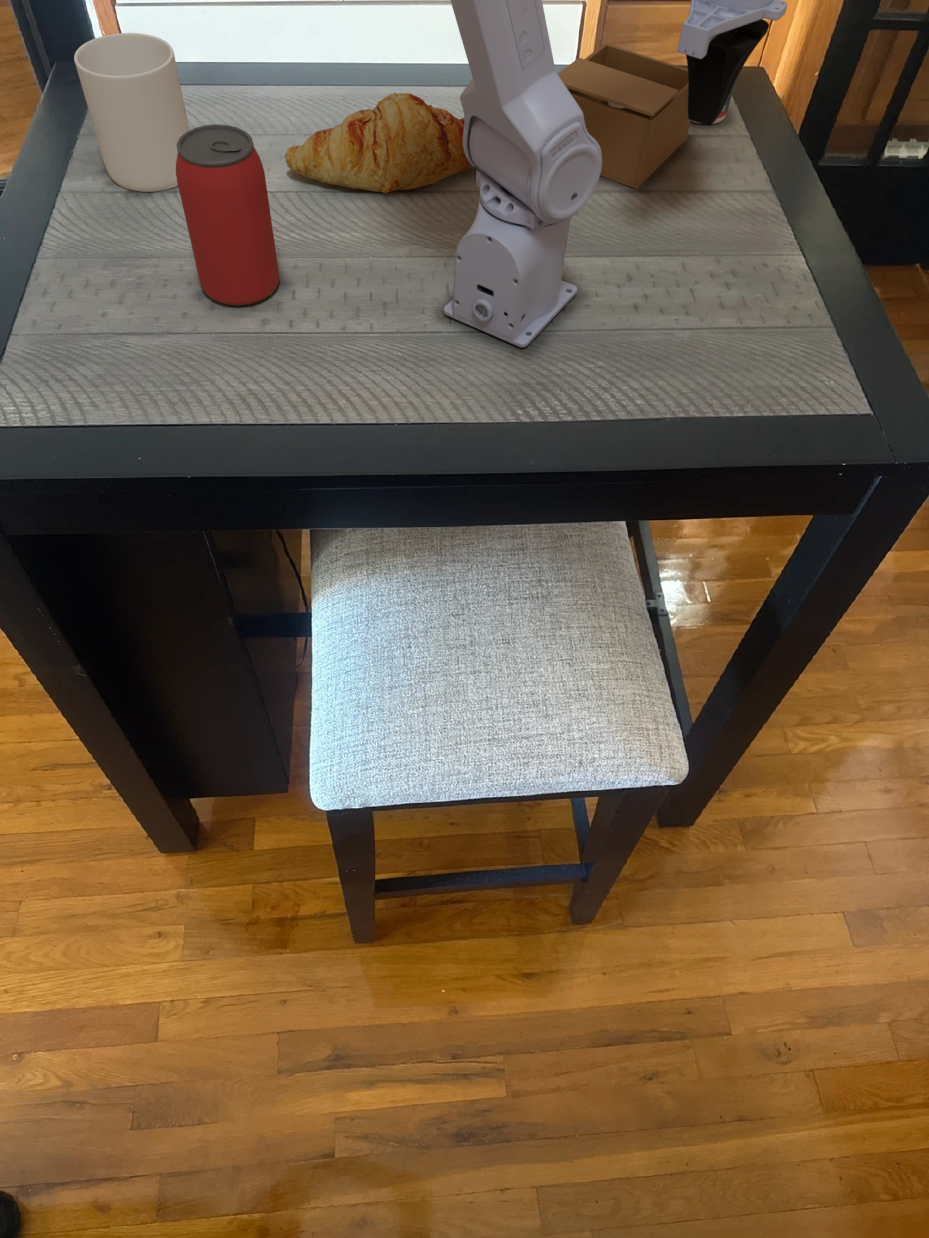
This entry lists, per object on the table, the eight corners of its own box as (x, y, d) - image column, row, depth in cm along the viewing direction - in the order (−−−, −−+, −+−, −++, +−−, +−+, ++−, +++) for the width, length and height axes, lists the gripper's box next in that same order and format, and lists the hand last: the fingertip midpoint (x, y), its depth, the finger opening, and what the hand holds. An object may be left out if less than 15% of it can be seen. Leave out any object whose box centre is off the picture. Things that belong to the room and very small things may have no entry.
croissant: (297, 229, 86) (293, 179, 78) (276, 134, 87) (270, 74, 79) (506, 202, 90) (522, 151, 82) (484, 111, 91) (498, 52, 83)
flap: (652, 117, 81) (653, 113, 81) (550, 82, 84) (550, 79, 84) (677, 93, 84) (678, 90, 84) (578, 60, 87) (578, 57, 87)
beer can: (265, 315, 73) (242, 172, 63) (189, 302, 74) (154, 158, 64) (290, 269, 77) (272, 127, 67) (217, 257, 78) (188, 114, 68)
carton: (637, 189, 87) (651, 122, 82) (541, 154, 90) (548, 87, 85) (686, 139, 93) (702, 73, 88) (594, 108, 96) (604, 42, 90)
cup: (118, 201, 82) (84, 83, 73) (90, 138, 88) (56, 22, 79) (207, 183, 84) (184, 68, 76) (174, 123, 90) (149, 10, 82)
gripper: (769, -32, 58) (712, 172, 69) (839, -94, 65) (778, 100, 77) (670, -59, 60) (631, 144, 71) (750, -116, 67) (702, 76, 79)
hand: (701, 119), depth 74 cm, fingers closed
